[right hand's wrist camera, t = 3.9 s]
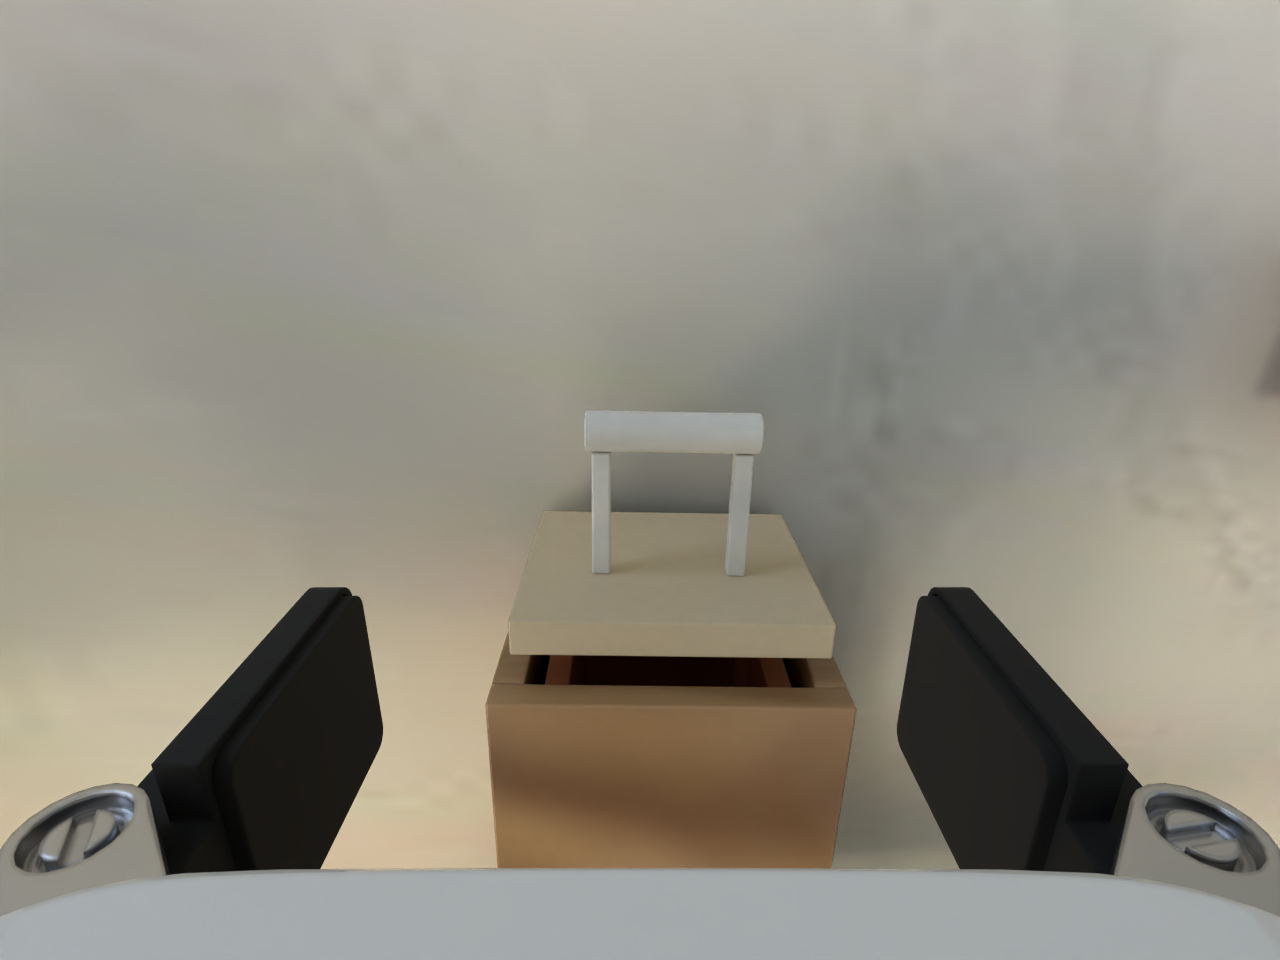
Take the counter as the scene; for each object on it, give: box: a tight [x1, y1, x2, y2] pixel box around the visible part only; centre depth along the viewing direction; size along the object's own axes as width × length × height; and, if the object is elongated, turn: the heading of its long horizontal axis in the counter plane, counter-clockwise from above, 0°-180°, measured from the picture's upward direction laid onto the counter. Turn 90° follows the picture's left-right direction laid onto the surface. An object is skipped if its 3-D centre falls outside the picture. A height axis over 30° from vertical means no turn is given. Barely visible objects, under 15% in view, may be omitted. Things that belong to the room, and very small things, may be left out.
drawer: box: [508, 410, 836, 687], centre depth 26 cm, size 22×10×8 cm, turn 179°
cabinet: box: [485, 630, 857, 869], centre depth 28 cm, size 18×11×10 cm, turn 179°
